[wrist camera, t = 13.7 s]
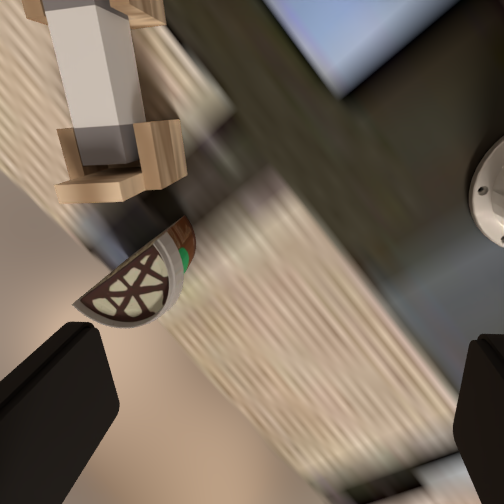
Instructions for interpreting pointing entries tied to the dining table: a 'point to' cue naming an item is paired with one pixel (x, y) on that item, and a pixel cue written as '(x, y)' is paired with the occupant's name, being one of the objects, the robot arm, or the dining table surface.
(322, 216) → the dining table surface
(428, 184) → the dining table surface
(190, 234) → the food container
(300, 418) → the dining table surface
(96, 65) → the bed rail
